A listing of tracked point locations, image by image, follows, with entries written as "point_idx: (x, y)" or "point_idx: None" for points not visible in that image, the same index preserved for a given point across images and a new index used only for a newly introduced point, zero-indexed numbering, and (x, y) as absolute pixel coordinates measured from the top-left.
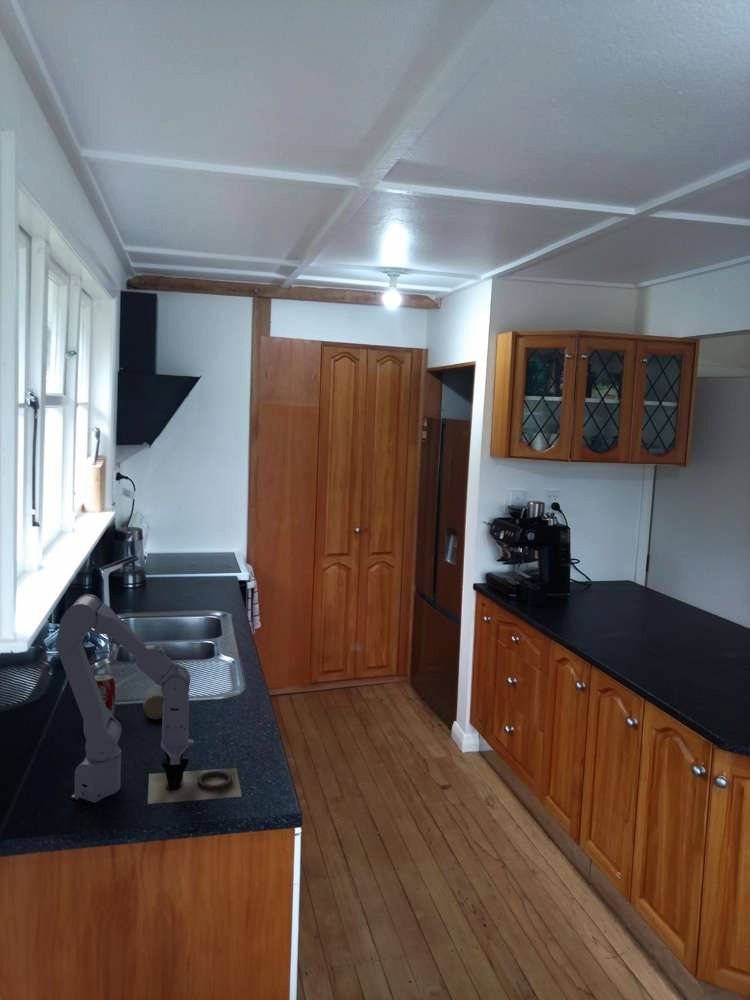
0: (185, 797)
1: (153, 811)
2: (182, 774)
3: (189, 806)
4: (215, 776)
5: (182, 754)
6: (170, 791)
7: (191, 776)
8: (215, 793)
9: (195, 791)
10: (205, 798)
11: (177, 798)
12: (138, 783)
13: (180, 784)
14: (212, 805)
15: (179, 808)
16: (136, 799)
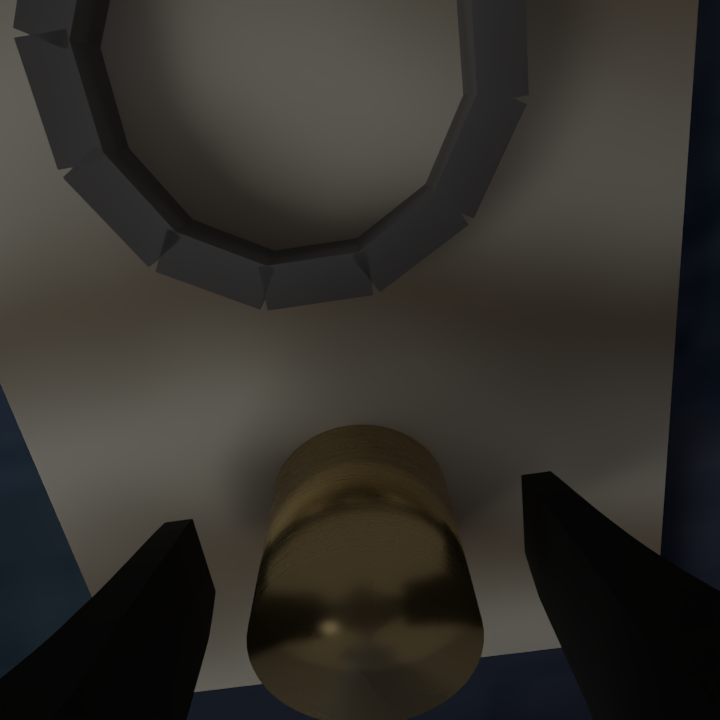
0: (603, 373)
1: (694, 563)
2: (690, 576)
3: (678, 306)
4: (103, 76)
5: (77, 691)
6: (461, 514)
7: (130, 370)
8: (559, 33)
9: (482, 289)
10: (671, 155)
11: (609, 440)
12: (241, 709)
13: (423, 467)
14: (715, 60)
15: (694, 388)
16: (487, 684)
